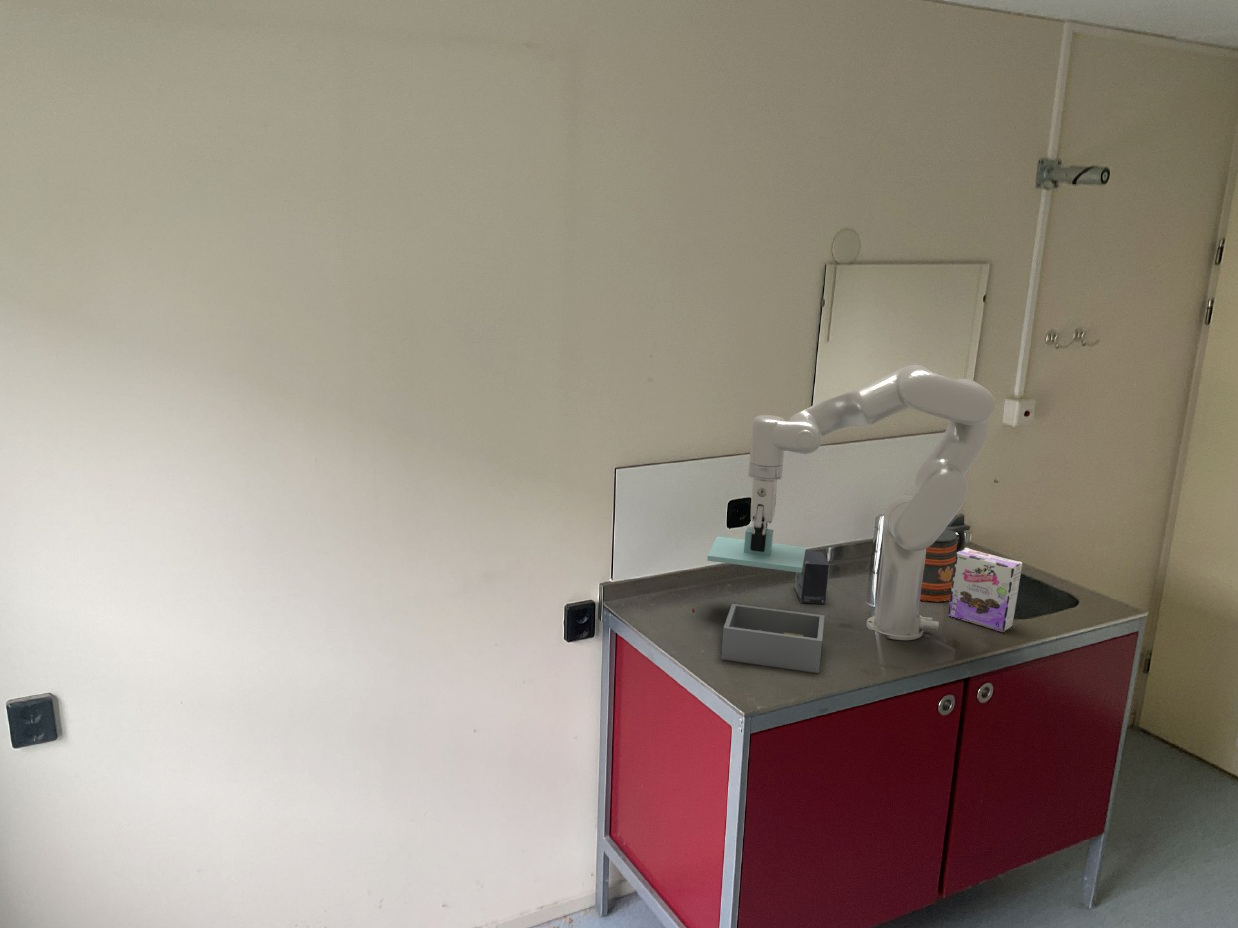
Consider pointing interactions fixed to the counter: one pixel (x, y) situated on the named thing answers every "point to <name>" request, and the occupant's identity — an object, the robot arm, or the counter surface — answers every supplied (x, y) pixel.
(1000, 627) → the candy box
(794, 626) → the tub
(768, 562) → the lid
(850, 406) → the robot arm
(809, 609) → the counter surface
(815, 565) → the small box
